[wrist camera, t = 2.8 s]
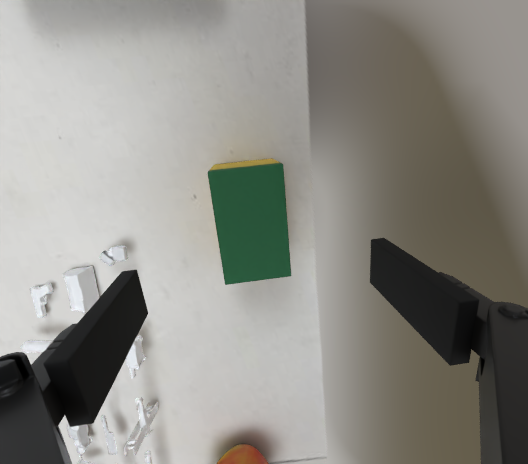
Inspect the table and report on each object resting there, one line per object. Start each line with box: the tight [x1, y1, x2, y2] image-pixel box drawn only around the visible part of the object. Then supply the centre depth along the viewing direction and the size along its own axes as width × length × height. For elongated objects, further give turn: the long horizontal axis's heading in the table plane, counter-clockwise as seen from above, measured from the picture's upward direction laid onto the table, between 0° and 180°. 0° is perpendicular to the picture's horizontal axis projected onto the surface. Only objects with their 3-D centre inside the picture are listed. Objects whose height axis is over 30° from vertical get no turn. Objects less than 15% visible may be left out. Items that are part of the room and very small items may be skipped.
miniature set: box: [21, 246, 159, 464], centre depth 33 cm, size 6×35×12 cm
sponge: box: [208, 158, 291, 285], centre depth 27 cm, size 10×6×7 cm, turn 6°
